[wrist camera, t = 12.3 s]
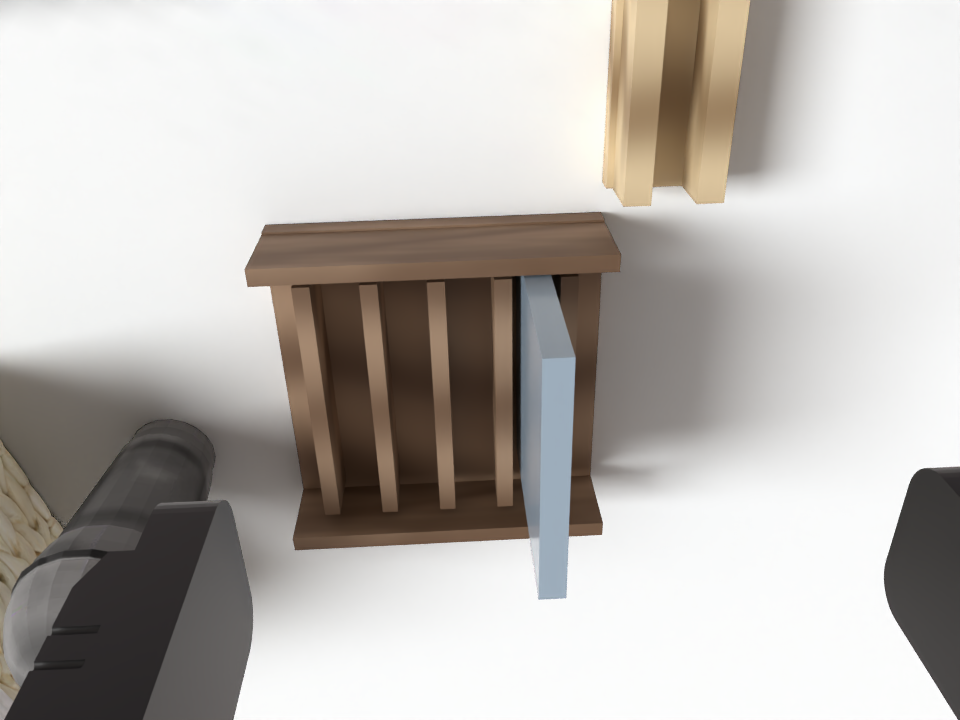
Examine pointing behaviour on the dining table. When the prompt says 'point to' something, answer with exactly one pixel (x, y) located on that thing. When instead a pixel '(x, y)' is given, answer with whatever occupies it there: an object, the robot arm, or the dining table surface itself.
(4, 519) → the storage basket
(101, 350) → the dining table surface
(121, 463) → the beverage cup
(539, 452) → the plate
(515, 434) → the rack
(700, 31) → the plate stand
